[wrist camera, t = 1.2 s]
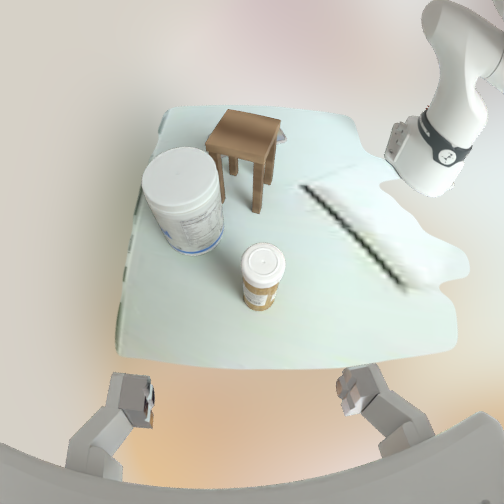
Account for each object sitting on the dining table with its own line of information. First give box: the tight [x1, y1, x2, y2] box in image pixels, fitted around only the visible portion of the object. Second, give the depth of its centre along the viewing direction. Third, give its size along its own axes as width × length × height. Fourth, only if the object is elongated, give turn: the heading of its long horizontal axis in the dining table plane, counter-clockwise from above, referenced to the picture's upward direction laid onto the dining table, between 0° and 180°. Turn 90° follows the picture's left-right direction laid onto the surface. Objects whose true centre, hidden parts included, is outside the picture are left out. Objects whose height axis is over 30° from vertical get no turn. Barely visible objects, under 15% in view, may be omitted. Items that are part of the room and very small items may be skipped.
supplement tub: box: [142, 147, 224, 256], centre depth 38 cm, size 10×10×15 cm
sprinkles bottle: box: [241, 243, 285, 311], centre depth 34 cm, size 5×5×13 cm
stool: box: [205, 109, 281, 214], centre depth 42 cm, size 8×8×14 cm
